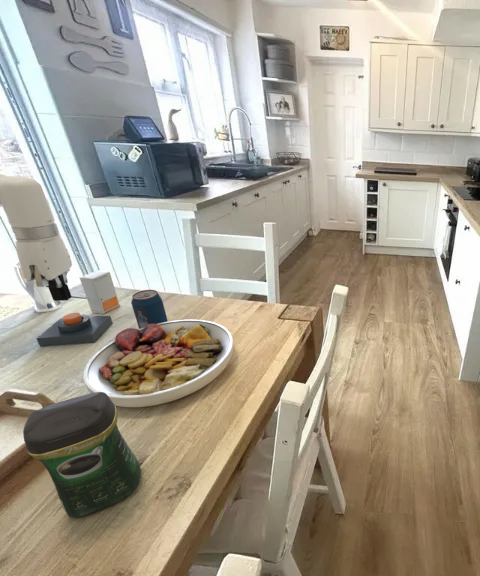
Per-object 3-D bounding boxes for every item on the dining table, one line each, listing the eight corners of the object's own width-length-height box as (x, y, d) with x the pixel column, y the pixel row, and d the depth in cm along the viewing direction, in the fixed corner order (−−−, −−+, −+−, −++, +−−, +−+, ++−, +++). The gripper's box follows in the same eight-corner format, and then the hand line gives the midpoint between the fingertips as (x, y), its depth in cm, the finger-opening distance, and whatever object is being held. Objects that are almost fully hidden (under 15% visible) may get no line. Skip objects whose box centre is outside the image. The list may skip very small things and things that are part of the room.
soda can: (169, 322, 98) (160, 287, 93) (169, 334, 93) (160, 297, 88) (141, 327, 94) (130, 291, 89) (140, 340, 89) (128, 302, 84)
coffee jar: (142, 458, 59) (112, 378, 51) (142, 495, 53) (107, 413, 45) (71, 484, 54) (25, 401, 46) (62, 529, 48) (7, 443, 40)
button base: (40, 346, 84) (33, 332, 82) (63, 326, 93) (58, 312, 91) (94, 342, 87) (89, 328, 85) (112, 323, 96) (108, 310, 94)
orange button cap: (61, 325, 86) (59, 319, 85) (69, 318, 89) (67, 313, 88) (77, 324, 87) (75, 319, 86) (85, 318, 90) (83, 312, 89)
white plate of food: (259, 348, 89) (256, 324, 86) (162, 433, 63) (152, 404, 60) (174, 325, 97) (168, 302, 93) (55, 392, 71) (41, 363, 67)
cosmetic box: (103, 314, 99) (91, 279, 94) (91, 312, 100) (78, 277, 95) (121, 305, 105) (110, 271, 100) (109, 303, 105) (97, 269, 100)
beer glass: (65, 300, 105) (47, 257, 98) (63, 309, 100) (44, 264, 94) (34, 305, 101) (14, 261, 94) (31, 315, 96) (9, 269, 90)
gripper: (38, 222, 83) (63, 287, 90) (-9, 241, 70) (24, 314, 77) (74, 223, 84) (95, 286, 92) (34, 241, 71) (62, 312, 79)
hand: (62, 299), depth 85 cm, fingers closed
